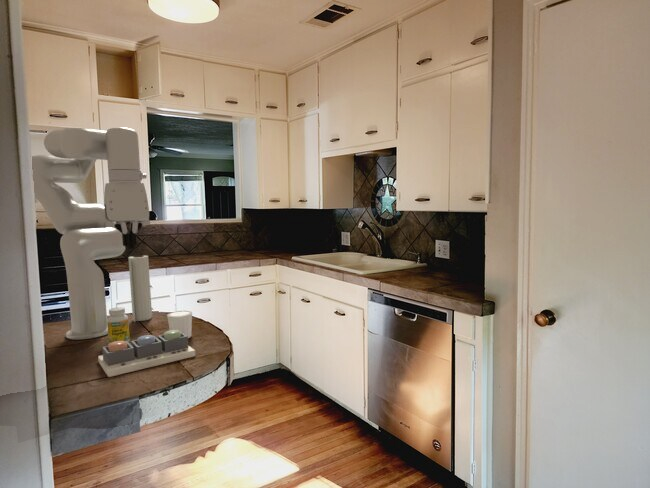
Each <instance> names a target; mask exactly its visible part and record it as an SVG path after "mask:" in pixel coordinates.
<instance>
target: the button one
mask: <svg viewBox="0 0 650 488" xmlns="http://www.w3.org/2000/svg"><path fill="white" fill-rule="evenodd" d="M107 346H108V347H109V352H113V351H118V350H123V349H127V342H126V341H115V342H112V343H109V342H108V344H107Z"/></svg>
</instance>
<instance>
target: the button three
mask: <svg viewBox="0 0 650 488" xmlns="http://www.w3.org/2000/svg"><path fill="white" fill-rule="evenodd" d="M163 335H164V339H165V340H170V339H175V338H179V337H181V331H180V330H166V331H164V332H163Z"/></svg>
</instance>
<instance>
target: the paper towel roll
mask: <svg viewBox="0 0 650 488" xmlns="http://www.w3.org/2000/svg"><path fill="white" fill-rule="evenodd" d="M127 260H128V271H129V283H130V299H131V312H132V321H133V322H134V323H136V322H142V321H148V320H151V319H152V318H153V308H152V307H153V306H152V293H151V283H150V282H151V281H150V280H151V278H150V268H149V267H150V266H149V265H150V263H149V255H133V256H129V257H128V259H127Z"/></svg>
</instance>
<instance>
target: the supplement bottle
mask: <svg viewBox="0 0 650 488" xmlns="http://www.w3.org/2000/svg"><path fill="white" fill-rule="evenodd" d="M125 313H126V309H125V307H121V306H120V307H112V308H110V309H108V314H109V316H108V317H107V325H108V334H107V335H108V344H109V343H112V342H115V341H126V342H129V343H130V342H131V336H130V325H129V317H128V315H126V314H125Z"/></svg>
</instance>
